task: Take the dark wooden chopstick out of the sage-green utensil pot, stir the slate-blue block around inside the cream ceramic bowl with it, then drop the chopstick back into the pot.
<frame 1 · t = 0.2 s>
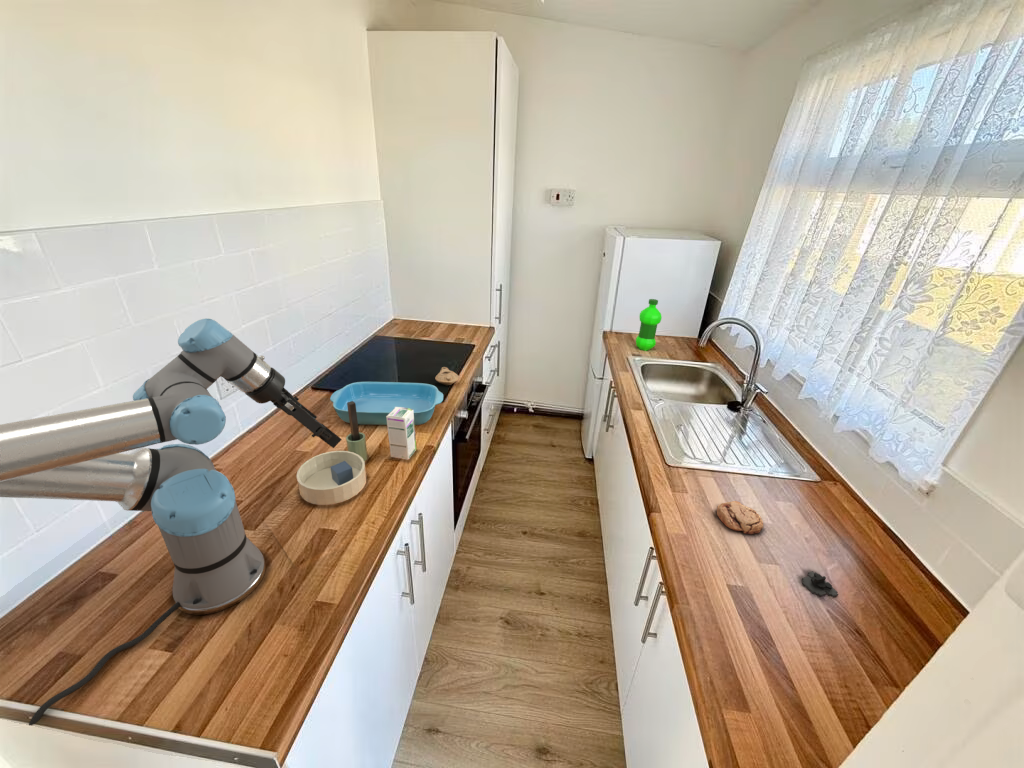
hand: (324, 431, 106), 17 cm above the worktop, tool tilted 35°, fingers open, 13 cm apart
plastic bottle: (644, 349, 218), on the worktop
pottery oil lamp: (447, 382, 172), on the worktop
utensil pot: (358, 460, 123), on the worktop
block: (343, 479, 114), point 1 cm above the worktop, touching bowl
cookie: (738, 520, 109), on the worktop
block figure: (817, 586, 92), on the worktop
chopstick: (358, 458, 123), point 1 cm above the worktop, touching utensil pot
bowl: (334, 485, 113), on the worktop
syrup box: (403, 455, 127), on the worktop
casserole dish: (389, 414, 148), on the worktop
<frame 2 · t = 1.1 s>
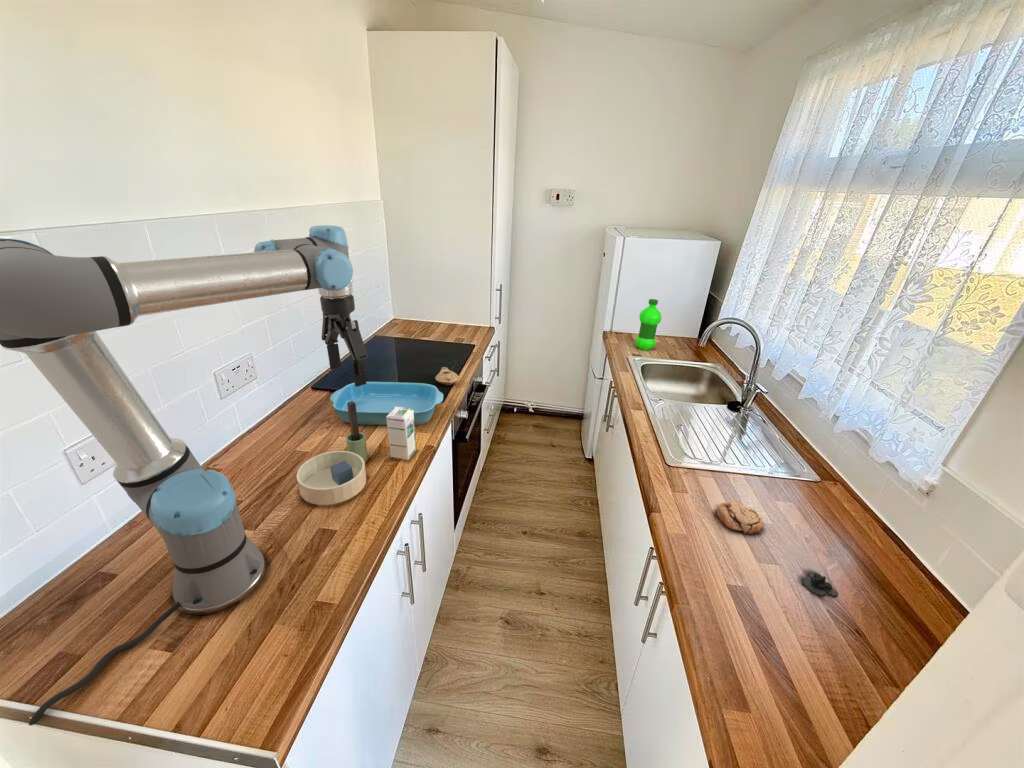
hand: (347, 376, 111), 27 cm above the worktop, tool pointing down, fingers open, 13 cm apart
nothing on the worktop moved.
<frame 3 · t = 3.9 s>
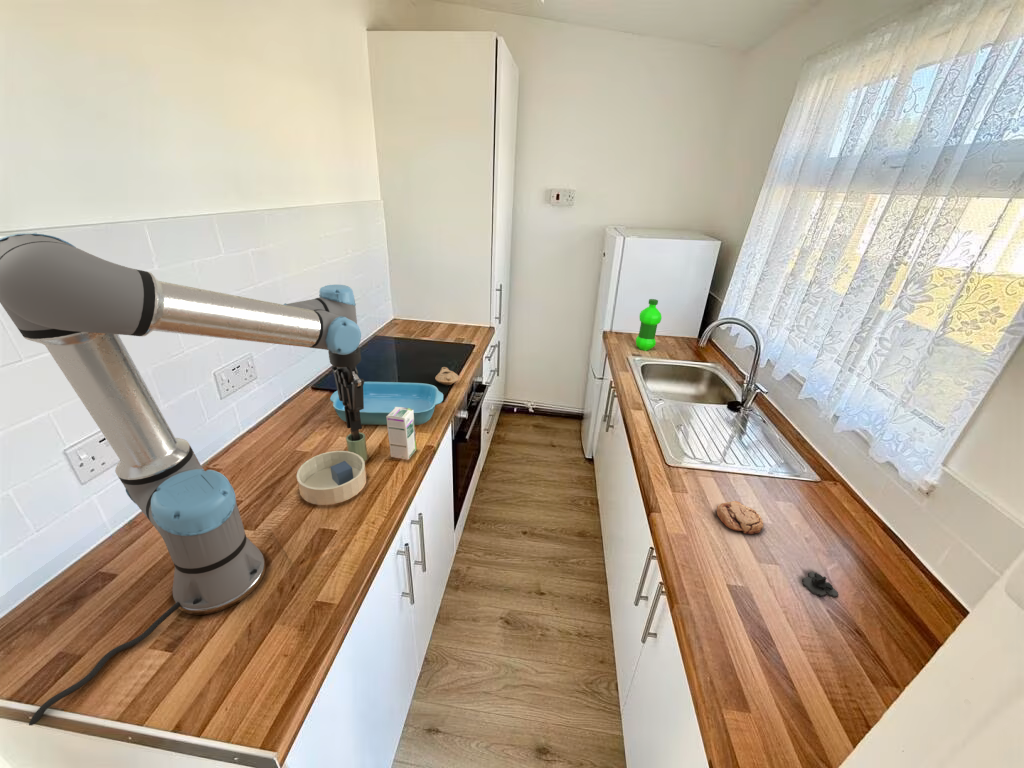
hand: (354, 427, 118), 11 cm above the worktop, tool pointing down, fingers closed on chopstick, 2 cm apart
chopstick: (358, 458, 123), point 1 cm above the worktop, touching gripper
everything else where it was.
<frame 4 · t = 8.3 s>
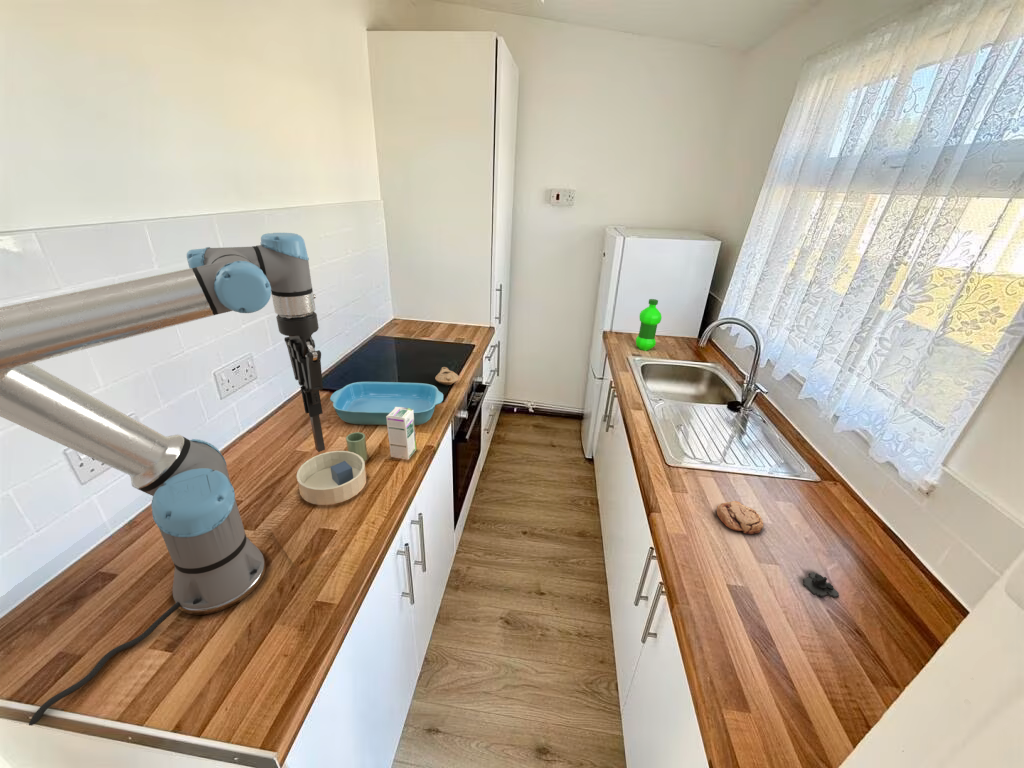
hand: (313, 412, 98), 24 cm above the worktop, tool pointing down, fingers closed on chopstick, 2 cm apart
chopstick: (320, 449, 103), point 14 cm above the worktop, touching gripper
everything else where it was.
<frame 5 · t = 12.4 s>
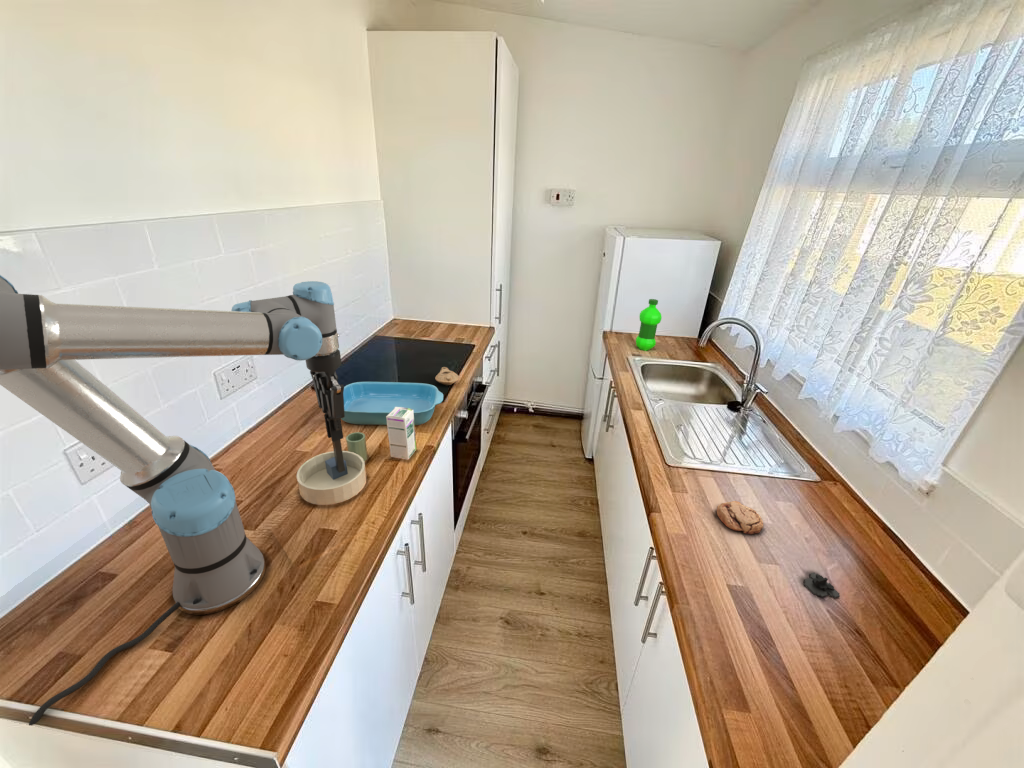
hand: (335, 437, 109), 14 cm above the worktop, tool pointing down, fingers closed on chopstick, 2 cm apart
block: (337, 473, 116), point 1 cm above the worktop, touching chopstick
chopstick: (341, 470, 113), point 3 cm above the worktop, touching block, gripper
everything else where it was.
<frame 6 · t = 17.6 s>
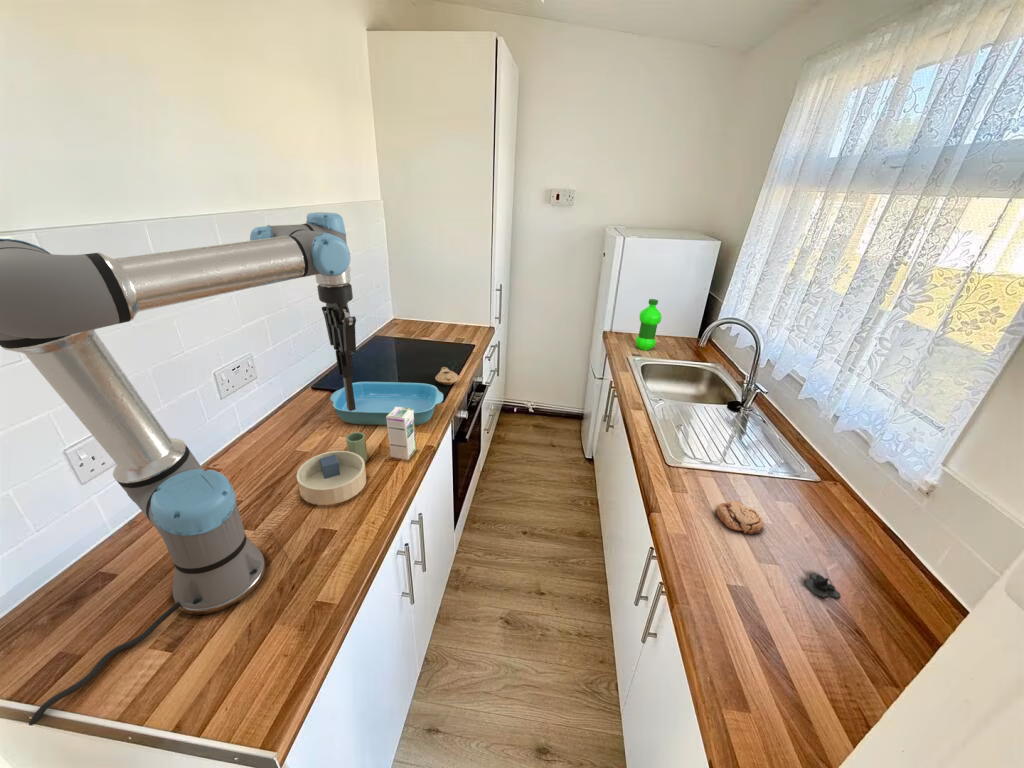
hand: (346, 374, 111), 27 cm above the worktop, tool pointing down, fingers closed on chopstick, 2 cm apart
block: (330, 472, 116), point 1 cm above the worktop, touching bowl
chopstick: (351, 409, 115), point 17 cm above the worktop, touching gripper
everything else where it was.
when the fingers open (11 cm above the worktop, at t = 21.5 s): chopstick stays where it is, resting on utensil pot.
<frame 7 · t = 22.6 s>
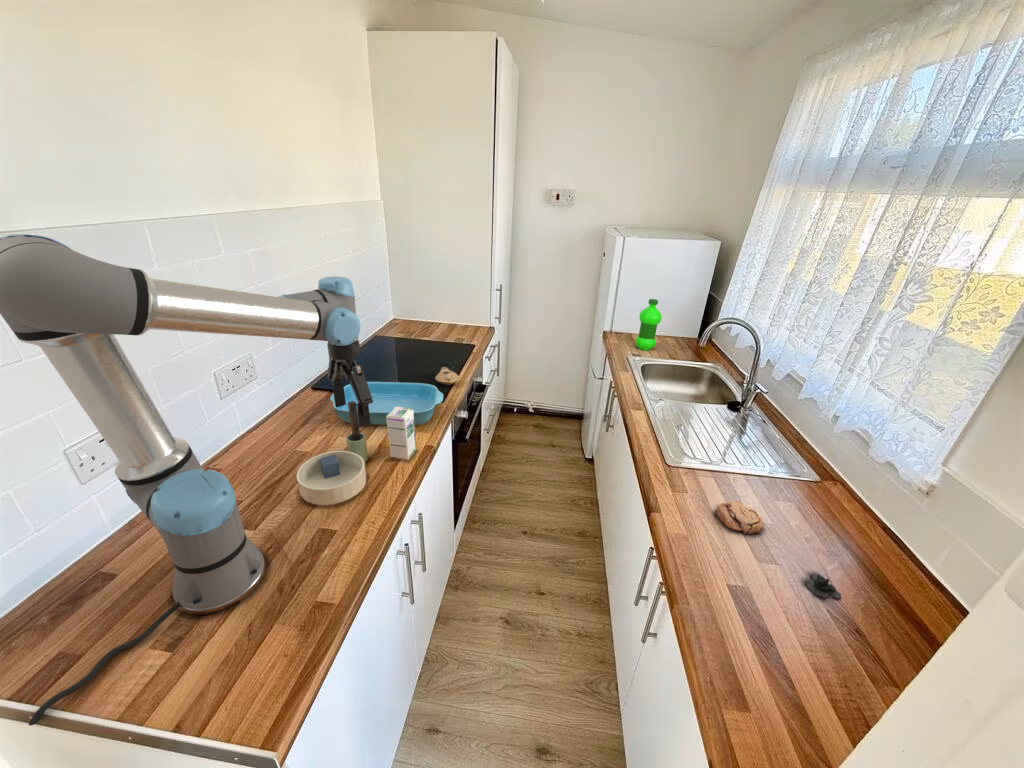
hand: (352, 414, 116), 15 cm above the worktop, tool pointing down, fingers open, 13 cm apart
chopstick: (359, 457, 123), point 1 cm above the worktop, touching utensil pot
everything else where it was.
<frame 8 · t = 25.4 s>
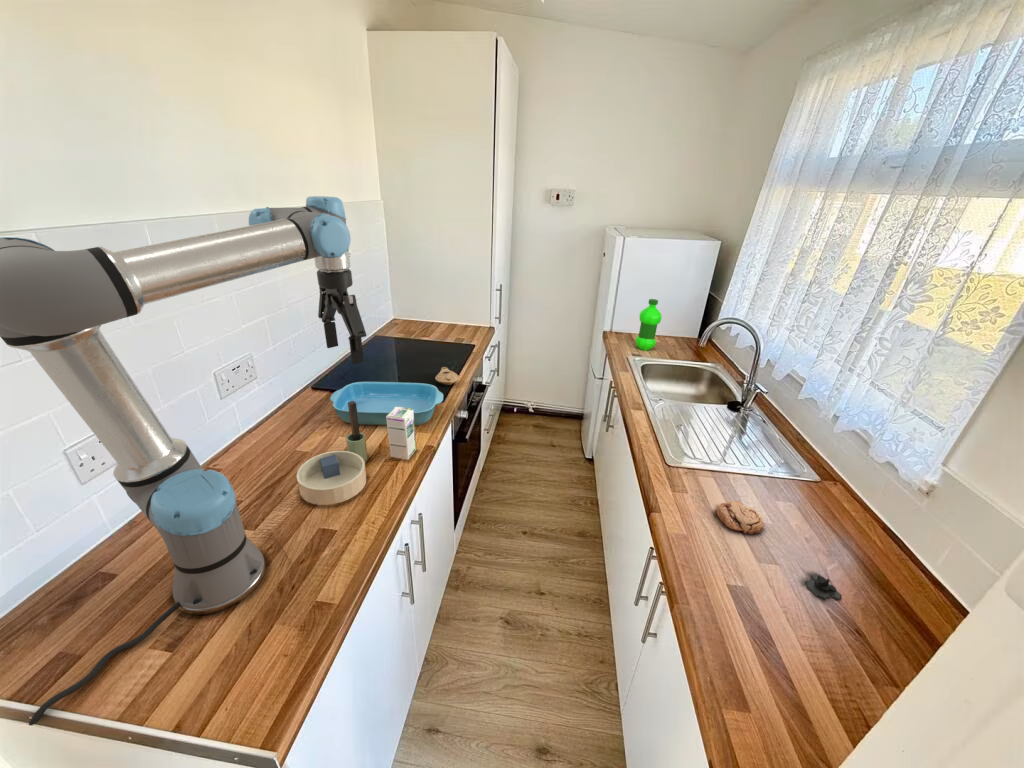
hand: (344, 354, 109), 33 cm above the worktop, tool pointing down, fingers open, 13 cm apart
nothing on the worktop moved.
at the end: block moved 4.9 cm from its start; block inside the target area in the bowl (5.0 cm from its centre), point 0.8 cm above the bowl's base; chopstick 0.2 cm off-centre in the utensil pot, point 0.8 cm above the utensil pot's base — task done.
